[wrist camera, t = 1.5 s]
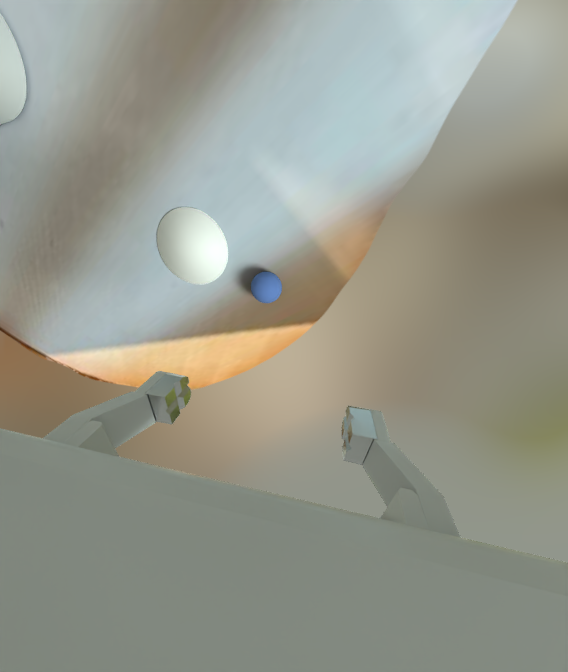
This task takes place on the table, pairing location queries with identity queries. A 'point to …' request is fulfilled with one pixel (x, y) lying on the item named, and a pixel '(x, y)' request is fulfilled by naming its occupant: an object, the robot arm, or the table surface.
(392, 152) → the table surface
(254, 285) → the ball
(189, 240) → the disc
